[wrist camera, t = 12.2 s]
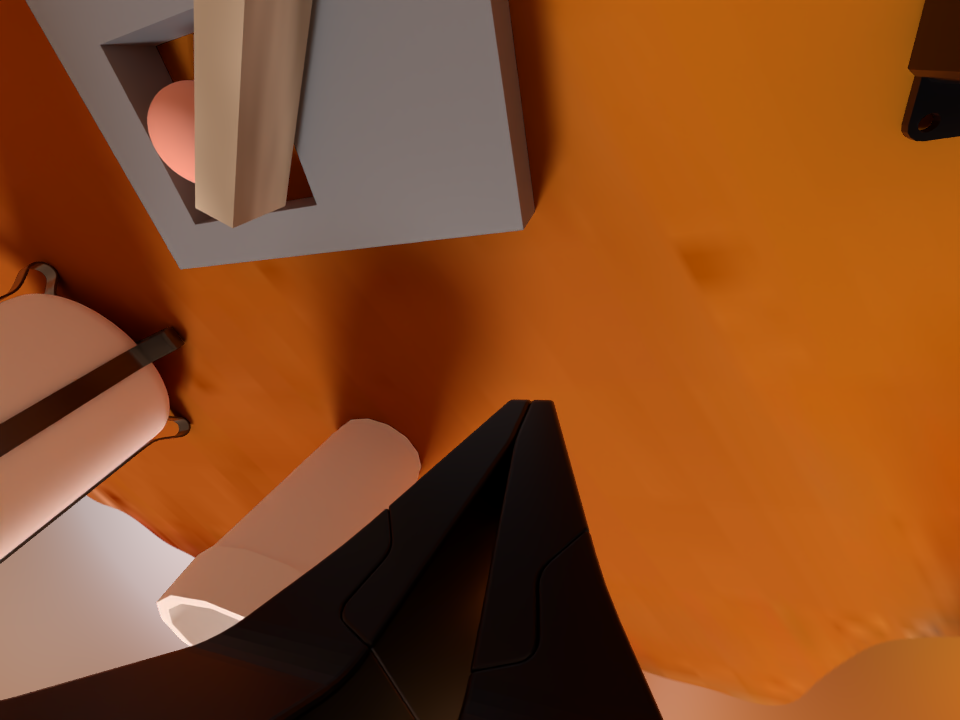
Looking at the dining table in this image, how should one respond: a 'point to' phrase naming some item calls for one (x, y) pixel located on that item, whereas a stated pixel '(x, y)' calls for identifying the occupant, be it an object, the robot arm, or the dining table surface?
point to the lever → (246, 103)
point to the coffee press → (69, 404)
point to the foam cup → (292, 528)
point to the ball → (174, 127)
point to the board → (328, 123)
